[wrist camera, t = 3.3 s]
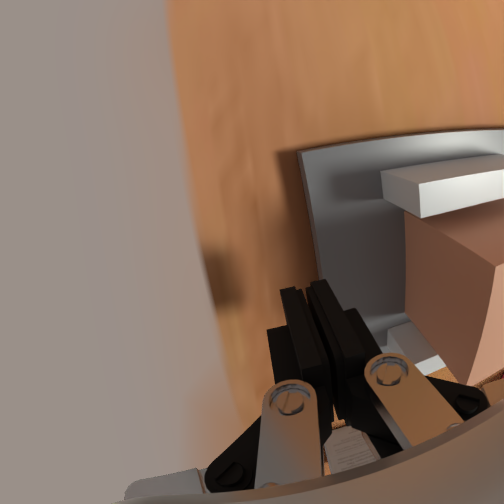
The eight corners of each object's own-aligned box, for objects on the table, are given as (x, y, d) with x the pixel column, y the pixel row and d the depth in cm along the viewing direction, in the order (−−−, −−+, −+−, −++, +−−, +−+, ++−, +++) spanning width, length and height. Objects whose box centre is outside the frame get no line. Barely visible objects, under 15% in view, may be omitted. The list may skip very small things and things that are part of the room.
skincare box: (373, 447, 21) (410, 555, 10) (327, 462, 21) (354, 574, 10) (374, 414, 19) (426, 546, 8) (320, 431, 19) (354, 572, 8)
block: (484, 281, 14) (547, 335, 8) (404, 312, 14) (464, 390, 9) (490, 191, 12) (575, 228, 6) (404, 211, 12) (495, 266, 7)
